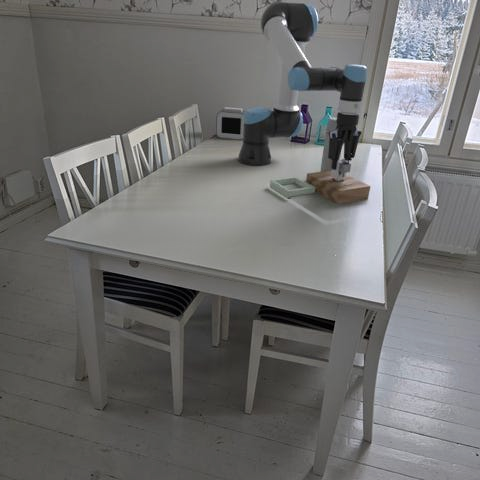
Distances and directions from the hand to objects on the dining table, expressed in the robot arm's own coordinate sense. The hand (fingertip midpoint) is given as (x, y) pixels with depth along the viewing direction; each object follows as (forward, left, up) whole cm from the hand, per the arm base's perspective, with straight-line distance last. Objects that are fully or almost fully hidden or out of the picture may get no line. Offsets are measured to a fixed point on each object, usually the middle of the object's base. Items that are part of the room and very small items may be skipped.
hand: (338, 177), depth 157 cm
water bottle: (-16, +9, -7) cm, 20 cm away
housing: (0, 0, -7) cm, 7 cm away
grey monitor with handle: (-94, +3, -7) cm, 94 cm away
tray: (-9, -14, -7) cm, 18 cm away
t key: (0, 0, -6) cm, 6 cm away
